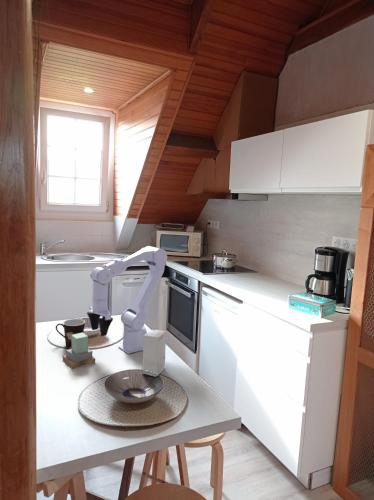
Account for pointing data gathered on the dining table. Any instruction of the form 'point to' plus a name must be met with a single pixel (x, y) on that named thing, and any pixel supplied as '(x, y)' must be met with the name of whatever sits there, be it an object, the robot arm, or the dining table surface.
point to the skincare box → (154, 351)
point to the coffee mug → (71, 329)
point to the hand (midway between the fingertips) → (99, 332)
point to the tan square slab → (78, 364)
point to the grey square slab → (78, 355)
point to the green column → (79, 343)
